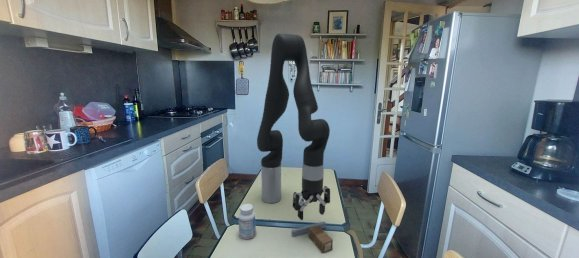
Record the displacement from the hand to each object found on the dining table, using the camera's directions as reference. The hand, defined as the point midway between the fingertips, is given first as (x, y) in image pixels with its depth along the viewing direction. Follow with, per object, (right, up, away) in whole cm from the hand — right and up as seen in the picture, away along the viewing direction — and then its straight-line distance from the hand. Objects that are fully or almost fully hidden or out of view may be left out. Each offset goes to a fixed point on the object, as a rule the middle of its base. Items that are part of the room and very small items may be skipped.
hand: (311, 216), depth 90 cm
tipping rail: (-1, -7, +3) cm, 7 cm away
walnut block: (+1, -6, 0) cm, 6 cm away
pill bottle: (-24, -7, +1) cm, 25 cm away
